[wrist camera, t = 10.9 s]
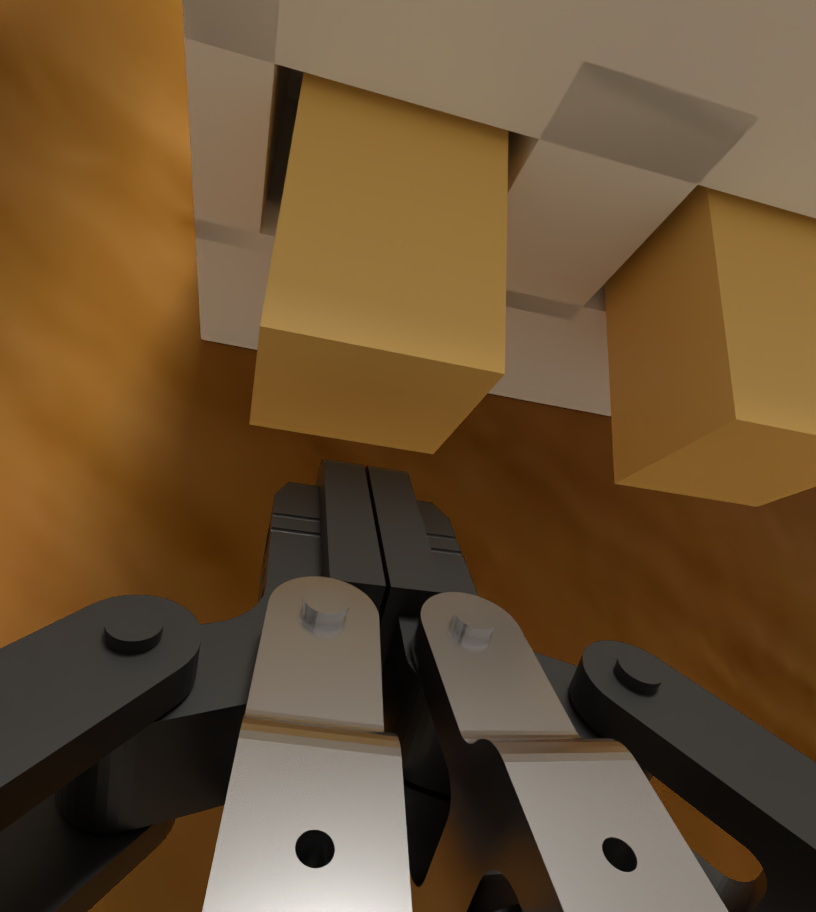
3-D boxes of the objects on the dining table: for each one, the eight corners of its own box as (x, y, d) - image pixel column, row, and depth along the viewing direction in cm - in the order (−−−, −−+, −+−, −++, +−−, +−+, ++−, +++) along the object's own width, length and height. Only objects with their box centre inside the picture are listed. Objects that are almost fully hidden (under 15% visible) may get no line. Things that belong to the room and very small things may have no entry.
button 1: (249, 424, 13) (259, 325, 10) (286, 203, 16) (306, 54, 12) (433, 454, 14) (504, 373, 11) (445, 241, 16) (508, 113, 13)
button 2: (614, 483, 15) (735, 418, 12) (604, 279, 17) (704, 170, 14) (757, 507, 16) (910, 453, 13) (731, 310, 18) (856, 215, 15)
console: (201, 339, 20) (167, -287, 7) (232, 188, 22) (248, -503, 9) (850, 461, 26) (1486, 228, 13) (826, 331, 28) (1349, 19, 15)
